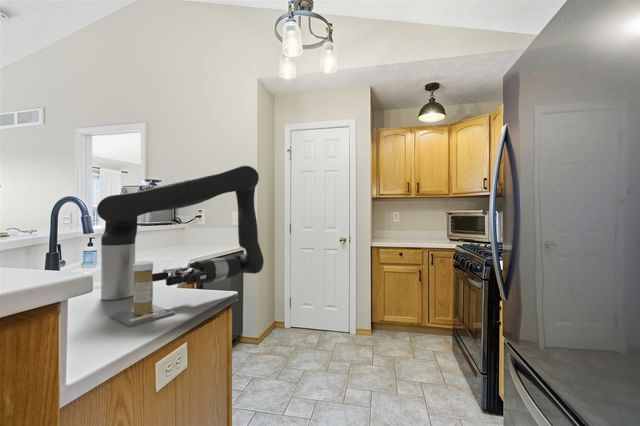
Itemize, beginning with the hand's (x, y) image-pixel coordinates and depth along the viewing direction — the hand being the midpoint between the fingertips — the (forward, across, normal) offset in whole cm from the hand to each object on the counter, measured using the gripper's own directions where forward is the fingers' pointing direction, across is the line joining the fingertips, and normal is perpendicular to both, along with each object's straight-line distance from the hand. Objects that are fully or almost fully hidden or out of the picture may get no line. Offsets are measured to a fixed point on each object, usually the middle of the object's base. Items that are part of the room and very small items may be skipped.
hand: (158, 279), depth 81 cm
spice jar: (+4, 0, +8) cm, 9 cm away
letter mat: (+4, 0, +9) cm, 10 cm away
